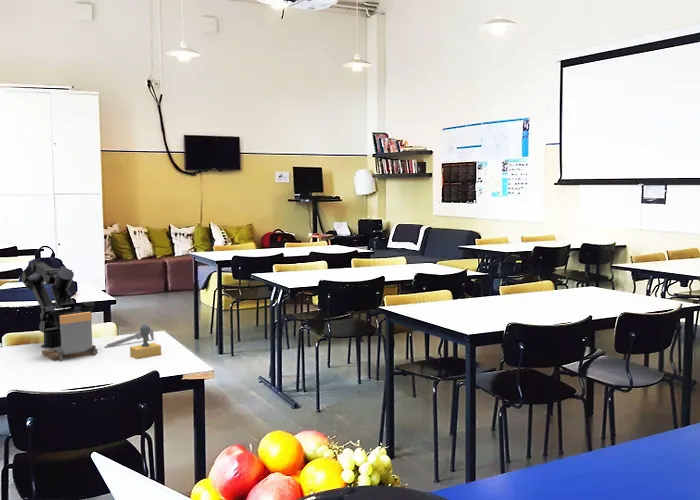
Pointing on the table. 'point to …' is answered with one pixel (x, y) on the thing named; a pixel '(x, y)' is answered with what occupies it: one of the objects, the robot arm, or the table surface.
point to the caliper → (130, 338)
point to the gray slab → (76, 333)
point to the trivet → (57, 355)
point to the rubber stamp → (145, 346)
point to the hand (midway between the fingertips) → (74, 328)
